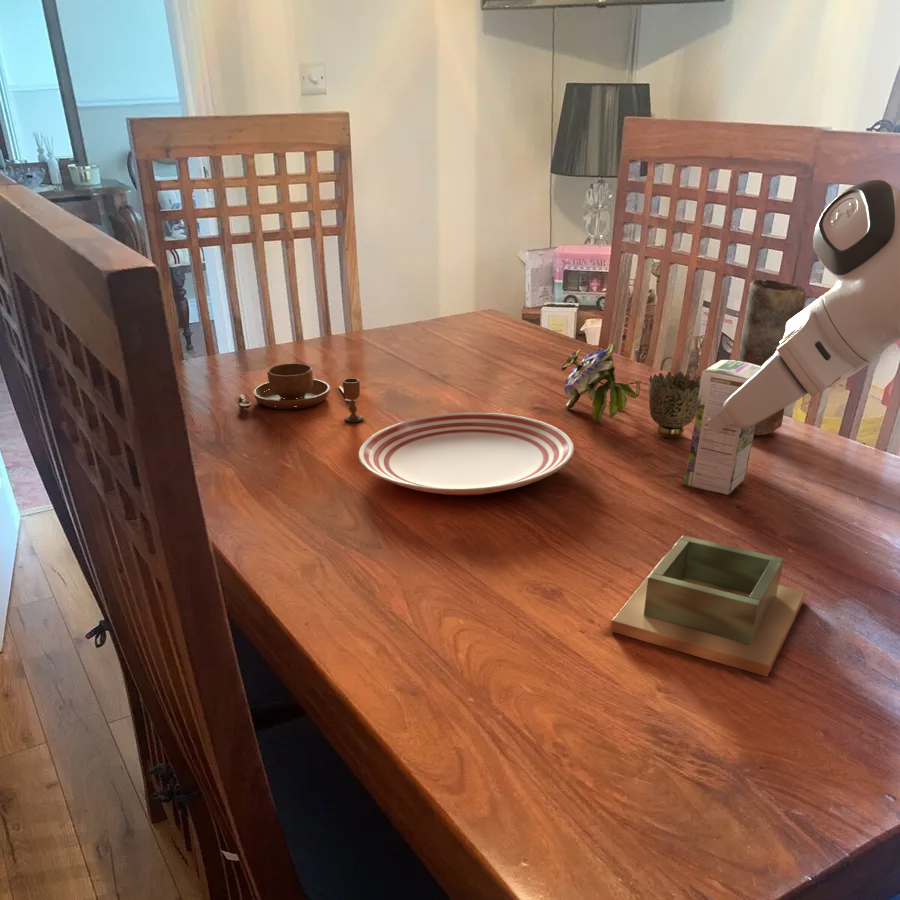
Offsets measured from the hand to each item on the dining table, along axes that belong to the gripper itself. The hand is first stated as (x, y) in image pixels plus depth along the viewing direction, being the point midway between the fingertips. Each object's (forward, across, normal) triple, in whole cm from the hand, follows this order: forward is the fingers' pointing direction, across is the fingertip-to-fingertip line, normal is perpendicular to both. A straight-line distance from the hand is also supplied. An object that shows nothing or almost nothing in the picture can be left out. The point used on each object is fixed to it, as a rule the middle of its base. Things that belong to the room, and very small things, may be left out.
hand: (720, 417), depth 103 cm
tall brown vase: (+6, -21, +6) cm, 23 cm away
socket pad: (0, +31, +12) cm, 33 cm away
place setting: (+51, +2, -39) cm, 64 cm away
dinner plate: (+26, +11, -14) cm, 32 cm away
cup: (+13, -14, -1) cm, 19 cm away
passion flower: (+22, -19, -10) cm, 31 cm away
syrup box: (+6, 0, +6) cm, 9 cm away
